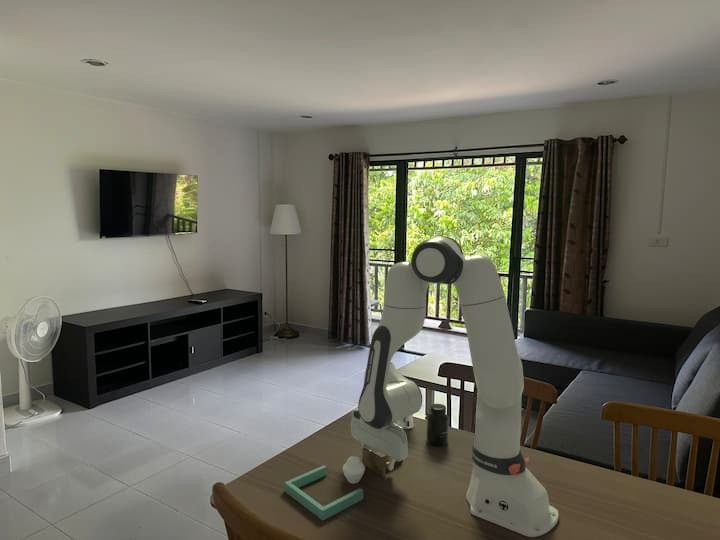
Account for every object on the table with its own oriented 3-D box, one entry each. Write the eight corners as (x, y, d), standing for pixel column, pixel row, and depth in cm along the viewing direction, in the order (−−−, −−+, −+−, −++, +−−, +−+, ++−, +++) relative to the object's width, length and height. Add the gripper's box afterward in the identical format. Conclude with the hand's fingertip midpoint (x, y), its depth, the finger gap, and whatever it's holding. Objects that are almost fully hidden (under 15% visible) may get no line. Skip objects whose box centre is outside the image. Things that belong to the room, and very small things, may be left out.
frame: (363, 499, 125) (363, 490, 125) (322, 520, 117) (322, 510, 116) (323, 473, 138) (323, 465, 137) (284, 491, 129) (284, 482, 128)
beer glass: (415, 430, 165) (416, 387, 163) (395, 430, 165) (396, 387, 163) (413, 421, 172) (414, 380, 170) (394, 421, 172) (394, 380, 170)
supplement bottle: (447, 448, 153) (448, 411, 151) (425, 445, 154) (426, 409, 153) (448, 438, 159) (449, 403, 158) (427, 436, 161) (428, 401, 159)
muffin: (344, 487, 131) (344, 463, 130) (340, 475, 136) (340, 452, 136) (367, 485, 132) (367, 460, 131) (362, 473, 138) (362, 449, 137)
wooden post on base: (410, 464, 143) (410, 448, 142) (383, 477, 136) (383, 460, 135) (388, 453, 150) (389, 437, 149) (362, 464, 143) (362, 448, 142)
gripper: (413, 425, 133) (412, 473, 135) (363, 403, 148) (362, 446, 150) (397, 432, 129) (397, 481, 131) (347, 408, 144) (347, 453, 146)
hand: (378, 462), depth 140 cm, fingers open, 8 cm apart
